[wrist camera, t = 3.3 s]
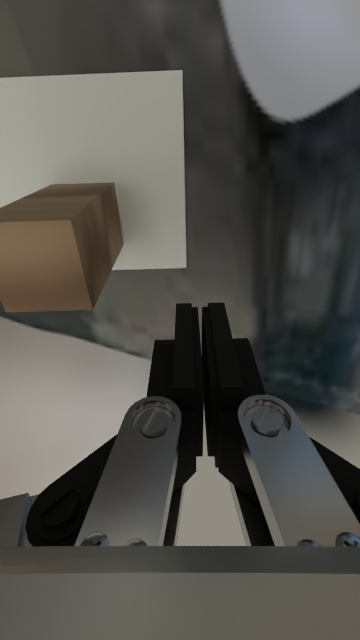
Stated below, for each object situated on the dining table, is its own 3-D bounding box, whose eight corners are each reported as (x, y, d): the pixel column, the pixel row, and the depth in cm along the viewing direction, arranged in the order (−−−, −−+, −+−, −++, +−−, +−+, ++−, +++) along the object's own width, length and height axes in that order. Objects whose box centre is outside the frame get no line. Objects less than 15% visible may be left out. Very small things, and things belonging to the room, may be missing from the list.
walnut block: (52, 183, 23) (-34, 223, 13) (115, 181, 22) (70, 220, 13) (68, 245, 25) (5, 311, 16) (124, 243, 25) (92, 309, 16)
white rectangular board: (-169, 86, 19) (-174, 85, 19) (182, 71, 19) (182, 70, 19) (-63, 273, 27) (-66, 275, 27) (186, 266, 27) (186, 267, 27)
